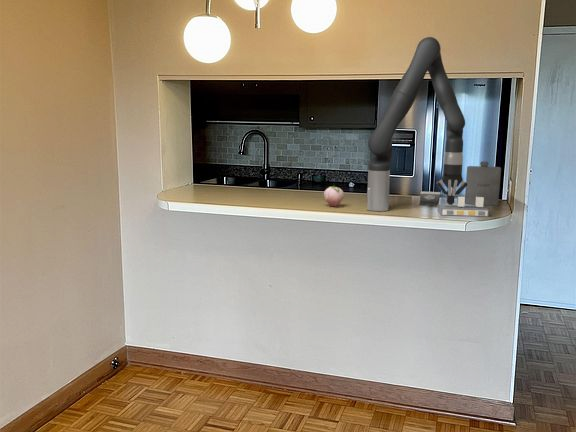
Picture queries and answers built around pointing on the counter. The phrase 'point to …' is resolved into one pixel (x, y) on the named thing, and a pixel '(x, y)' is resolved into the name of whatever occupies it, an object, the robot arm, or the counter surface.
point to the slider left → (460, 201)
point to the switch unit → (463, 211)
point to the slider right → (479, 201)
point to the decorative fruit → (333, 195)
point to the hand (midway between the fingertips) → (450, 204)
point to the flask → (483, 184)
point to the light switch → (429, 198)
